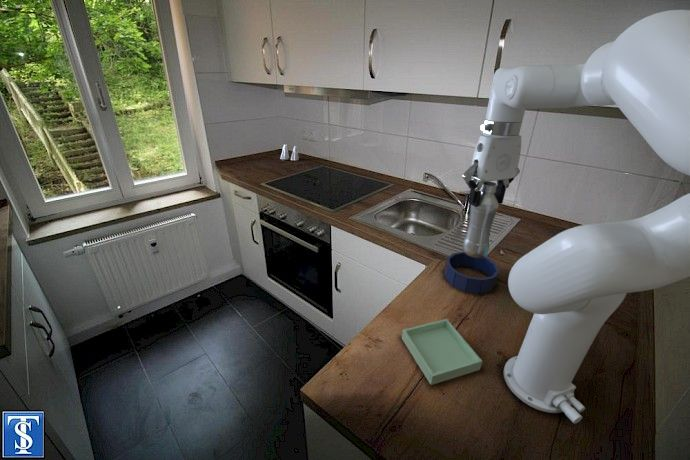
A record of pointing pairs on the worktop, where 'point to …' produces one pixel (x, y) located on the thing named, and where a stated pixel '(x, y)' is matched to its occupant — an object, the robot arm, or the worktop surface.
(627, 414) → the worktop surface
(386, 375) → the worktop surface
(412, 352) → the tray
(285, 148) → the shaker set
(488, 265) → the blue ring
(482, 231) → the plastic bottle
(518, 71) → the robot arm
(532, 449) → the worktop surface
